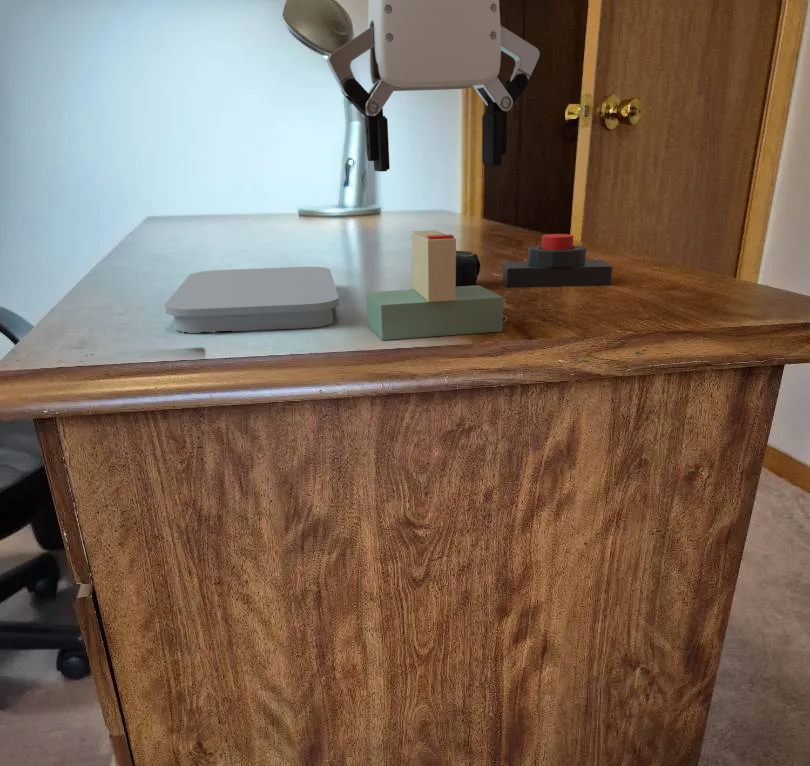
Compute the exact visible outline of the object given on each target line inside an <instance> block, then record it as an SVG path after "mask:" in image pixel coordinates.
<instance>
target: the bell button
mask: <svg viewBox="0 0 810 766" xmlns="http://www.w3.org/2000/svg"><path fill="white" fill-rule="evenodd" d="M574 238H575V237H574V234H570V233H549V234H543V235H542V236H541V245H542V249H545V250H567V249H573V245H574Z"/></svg>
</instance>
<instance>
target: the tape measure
mask: <svg viewBox="0 0 810 766" xmlns="http://www.w3.org/2000/svg"><path fill="white" fill-rule="evenodd" d="M480 271H481V262H480V260H479V256H478V254H477V253H475V252H473V251H467V250H456V286H476V284H477V281H478V277H479V274H480Z"/></svg>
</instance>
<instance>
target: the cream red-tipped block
mask: <svg viewBox="0 0 810 766" xmlns="http://www.w3.org/2000/svg"><path fill="white" fill-rule="evenodd" d="M410 244H411V245H410V247H411V249H410V250H411V251H410V252H411V288H412V289H414V290H415V291H417V292H418V293H419V294H420V295H421V296H422V297H423V298H425V299H426V300H427V301H428V302H438V301H455V300H456V287H457V285H456V251H457V238H455V236H454V235H453V234H450V233H449V234H445V233H443V232H441V231H439V230H437V229H435V230H412V231H411V232H410Z"/></svg>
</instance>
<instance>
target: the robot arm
mask: <svg viewBox="0 0 810 766" xmlns="http://www.w3.org/2000/svg"><path fill="white" fill-rule="evenodd" d="M367 2H368V4H367V5H368V7H367V29H366V30H364V31H363V32H361V33H360V34H358V35H357V36H355V37H354V38H352V39H350V40H349V41H348V42H346V43H345V44H343V45H342V46H340V47H339V48H337V49H335V50H334V51H333V52H331V53H330V54H329V55H328V56H327V59H326V63H327V65H328V67H329V69H330V71H331V73H332V75H333V77H334V79H335V81H336V82H337V84H338V86H339V88H340V92H341V93H342V95H343V96H344V97H345V98H346V99H347V100H348V101H349V102H350V104H351V105H353V106H354V108H355V109H356V110H358V112H359V113H360V115H361V117H363V118H364V125H365V127H364V128H365V146H366V158H367V162H373V171H374V172H381V173H383V172H388V170H390V145H389V144H390V143H389V127H388V126H389V125H388V123H389V122H388V117H386V115H384V109H383V108H384V106H385V105H386V103H387V102H388V100H389V99H390V97H391V96H392V94H393V92H413V91H419V92H420V91H446V90H447V91H448V90H464V89H470V88H473V89H474V90H475V92H476V93H477V94H478V96H479V97H480V99H481V100H482V101H483V102H484V104H485V105H486V112H483V115H482V116H481V117H482V121H481V163H482V164H483V165H484V166H492V167H493V166H495V167H496V166H501V165H502V160H503V157H502V155H505V154H506V152H507V141H508V139H507V138H508V135H507V134H508V112H509V111H510V110H511V109H512V108H513V105H514V103H515V102H516V101H517V99H518V98H519V97H520V96H521V95H522V93H523V92H524V91H525V90H526V88H527V87H528V84H529V80H530V77H531V76H532V75H533V72H534V69H535V67H536V65H537V63H538V61H539V58H540V54H541V53H540V50H539V49H538V47H536V46H535V45H532V44H531V43H529V42H528V41H526V40H525V39H523V38H522V37H520V36H518V35H517V34H515V33H514V32H512V31H511V30H509V29H508V28H506V27H504V26H503V25H502V24H501V14H500V13H501V12H500V0H367ZM366 52H368V54H367V55H368V56H367V57H368V72H369V79H370V82H371V84H372V87H371V88H370V89H369V91H367V90H366V89H365V88H364V87H363V86H362V85H361V83H360V82H358V80H357V79H356V78H355V76H354V73H353V71H352V68H351V65H352V62H353V61H354V60H356V59H357V58H359V57H360V56H362V55H363V54H364V53H366ZM502 52H503V53H504V54H506V55H508V56H509V57H511V58H512V59H513V60H514V62H515V64H514V68H513V72H512V73H511V76H509V78H507V80H506V82H505V83H504V84H503V82H501V81H500V79H499V77H498V76H499V74H500V70H501V63H502V61H501V60H502V59H501V58H502Z"/></svg>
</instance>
